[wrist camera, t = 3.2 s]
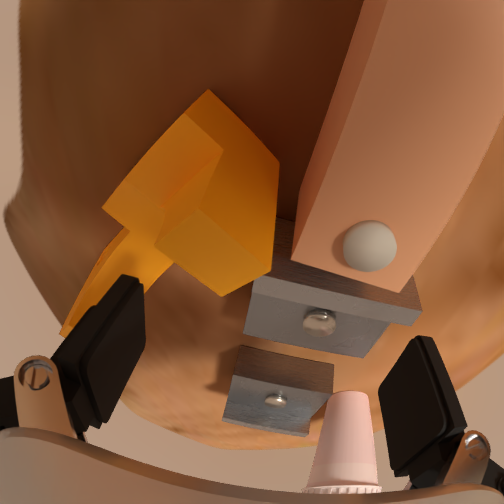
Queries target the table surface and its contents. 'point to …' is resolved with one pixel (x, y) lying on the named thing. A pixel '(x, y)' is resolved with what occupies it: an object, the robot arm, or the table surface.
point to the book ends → (305, 337)
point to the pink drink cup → (345, 448)
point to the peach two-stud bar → (401, 136)
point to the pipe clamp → (192, 208)
